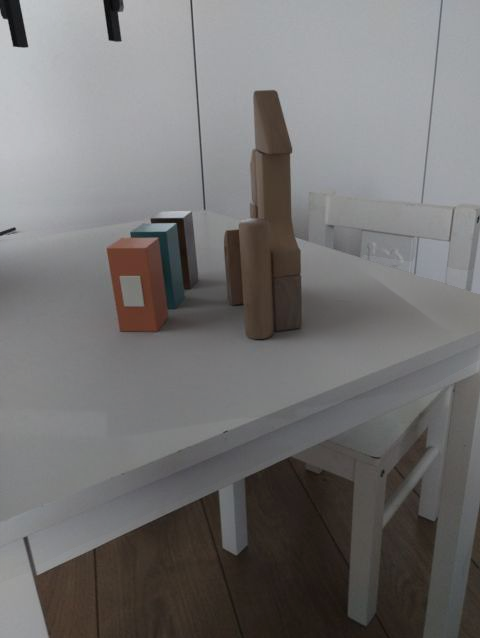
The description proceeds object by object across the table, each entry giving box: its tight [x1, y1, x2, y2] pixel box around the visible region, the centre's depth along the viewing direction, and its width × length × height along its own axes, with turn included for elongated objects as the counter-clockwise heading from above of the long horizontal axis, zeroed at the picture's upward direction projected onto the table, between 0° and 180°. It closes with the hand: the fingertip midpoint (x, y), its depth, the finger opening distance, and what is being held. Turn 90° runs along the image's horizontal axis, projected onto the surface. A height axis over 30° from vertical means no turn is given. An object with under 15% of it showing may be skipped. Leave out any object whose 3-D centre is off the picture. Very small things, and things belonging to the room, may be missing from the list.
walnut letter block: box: [150, 210, 199, 290], centre depth 80 cm, size 5×5×10 cm
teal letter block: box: [129, 222, 185, 310], centre depth 73 cm, size 5×5×10 cm
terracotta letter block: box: [106, 237, 169, 333], centre depth 67 cm, size 5×5×10 cm
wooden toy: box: [223, 89, 303, 340], centre depth 65 cm, size 16×7×25 cm, turn 13°
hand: (67, 44), depth 77 cm, fingers open, 13 cm apart
